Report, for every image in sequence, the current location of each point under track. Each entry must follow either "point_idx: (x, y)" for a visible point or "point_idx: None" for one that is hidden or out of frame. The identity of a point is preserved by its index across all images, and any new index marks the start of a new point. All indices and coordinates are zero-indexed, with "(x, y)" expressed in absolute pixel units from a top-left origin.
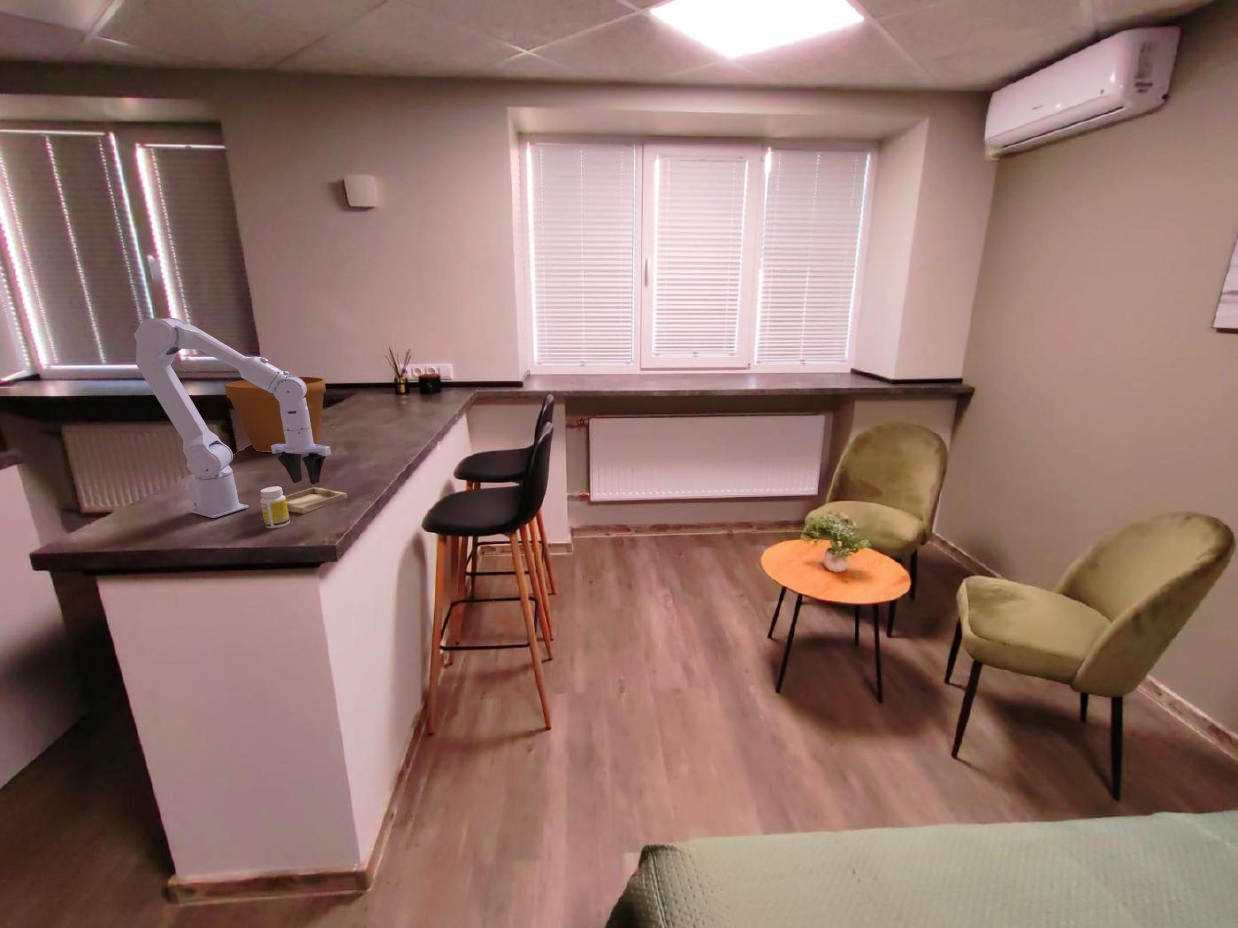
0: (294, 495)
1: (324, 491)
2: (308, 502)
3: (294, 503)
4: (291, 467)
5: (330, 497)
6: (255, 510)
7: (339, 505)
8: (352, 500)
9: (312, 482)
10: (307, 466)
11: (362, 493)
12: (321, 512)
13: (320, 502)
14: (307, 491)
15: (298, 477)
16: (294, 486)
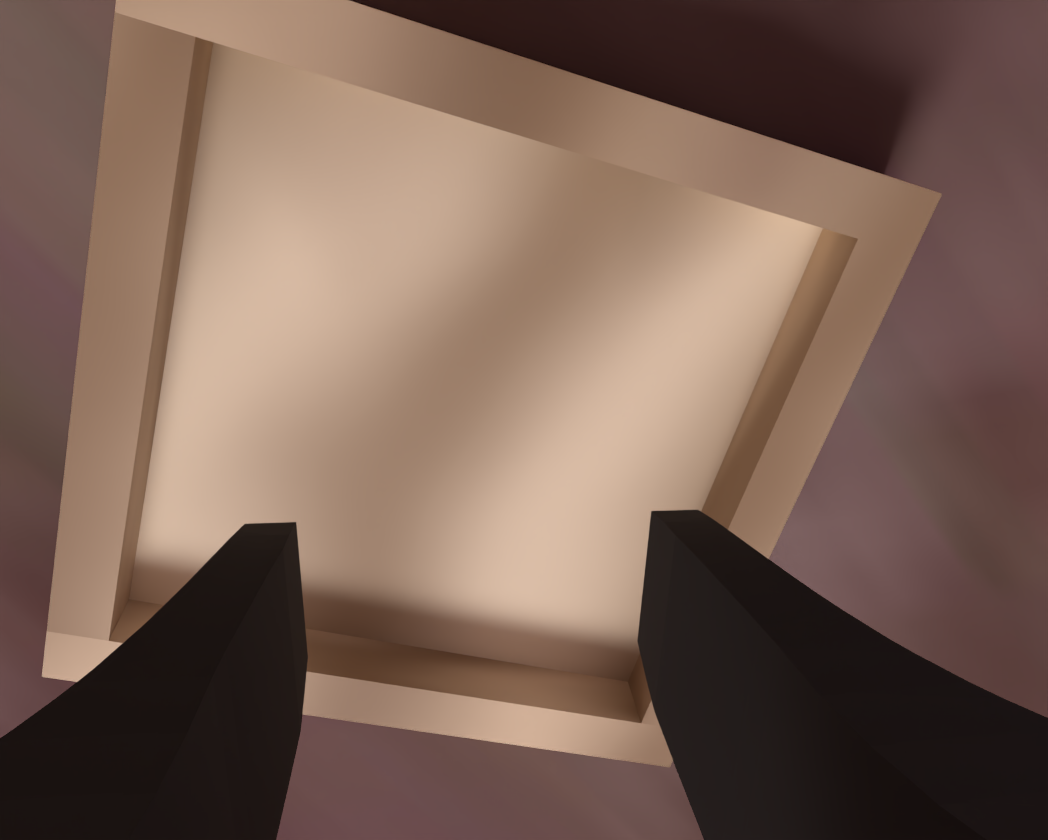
0: (737, 489)
1: (440, 682)
2: (446, 386)
3: (612, 317)
4: (799, 737)
5: (118, 492)
6: (1033, 47)
7: (4, 431)
8: (2, 613)
9: (239, 533)
10: (102, 785)
11: None
12: (4, 129)
13: (89, 283)
14: None
15: (663, 643)
16: None
